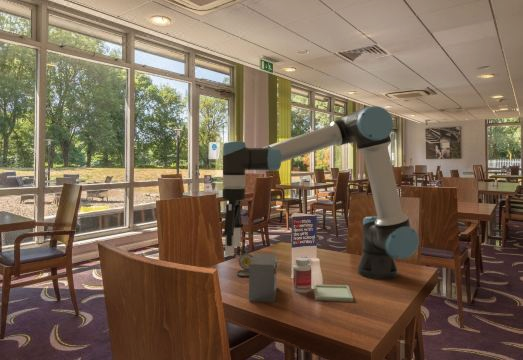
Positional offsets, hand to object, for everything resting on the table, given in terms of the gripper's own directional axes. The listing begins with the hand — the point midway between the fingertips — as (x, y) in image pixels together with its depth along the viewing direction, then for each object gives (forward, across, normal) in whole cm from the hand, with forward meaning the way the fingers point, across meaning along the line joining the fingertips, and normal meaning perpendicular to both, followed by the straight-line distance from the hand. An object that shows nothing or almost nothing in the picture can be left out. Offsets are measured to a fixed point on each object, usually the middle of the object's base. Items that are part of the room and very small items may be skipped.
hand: (233, 250), depth 125 cm
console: (+14, 0, +10) cm, 18 cm away
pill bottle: (+14, -5, +23) cm, 28 cm away
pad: (+14, -2, +33) cm, 36 cm away
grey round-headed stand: (+15, -22, +1) cm, 27 cm away
